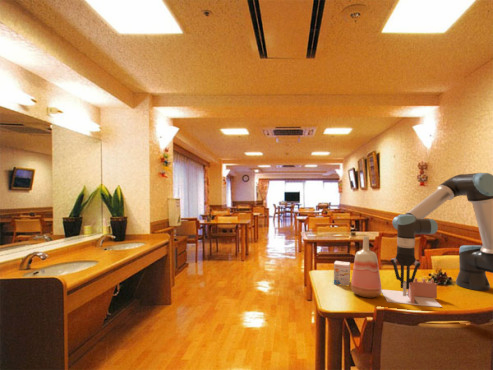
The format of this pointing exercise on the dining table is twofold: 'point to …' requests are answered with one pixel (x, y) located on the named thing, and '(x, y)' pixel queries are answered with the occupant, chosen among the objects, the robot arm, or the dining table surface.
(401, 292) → the card
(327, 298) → the dining table surface
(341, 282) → the ink box
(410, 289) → the folding fence panel
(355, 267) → the vase
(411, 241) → the robot arm
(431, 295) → the fixed fence panel
